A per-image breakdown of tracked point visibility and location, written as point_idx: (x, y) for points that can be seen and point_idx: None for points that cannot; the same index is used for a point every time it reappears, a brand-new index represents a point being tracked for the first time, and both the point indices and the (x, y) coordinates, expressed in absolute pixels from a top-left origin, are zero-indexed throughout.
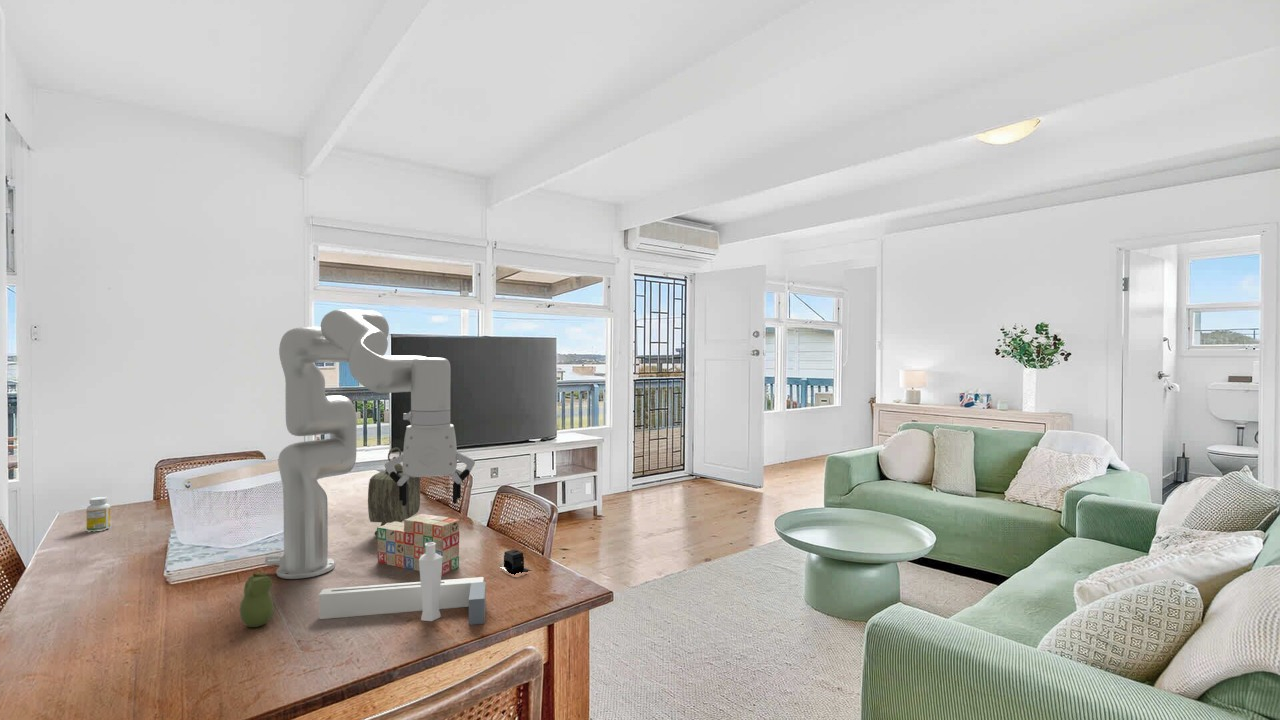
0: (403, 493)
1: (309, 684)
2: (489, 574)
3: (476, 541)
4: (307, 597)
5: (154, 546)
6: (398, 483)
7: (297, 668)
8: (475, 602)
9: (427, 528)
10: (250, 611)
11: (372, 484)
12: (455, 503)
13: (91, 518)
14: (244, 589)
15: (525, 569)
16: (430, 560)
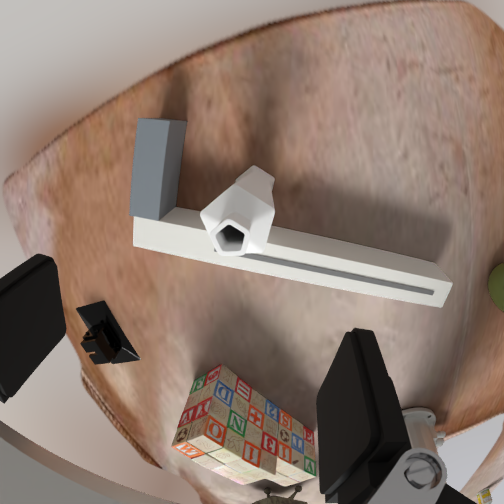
0: (383, 390)
1: (445, 31)
2: (143, 334)
3: (171, 441)
4: (428, 351)
5: (475, 474)
6: (432, 468)
7: (466, 90)
8: (158, 119)
9: (234, 445)
10: None
11: None
12: (45, 255)
13: (489, 495)
14: None
15: (89, 322)
16: (239, 188)
